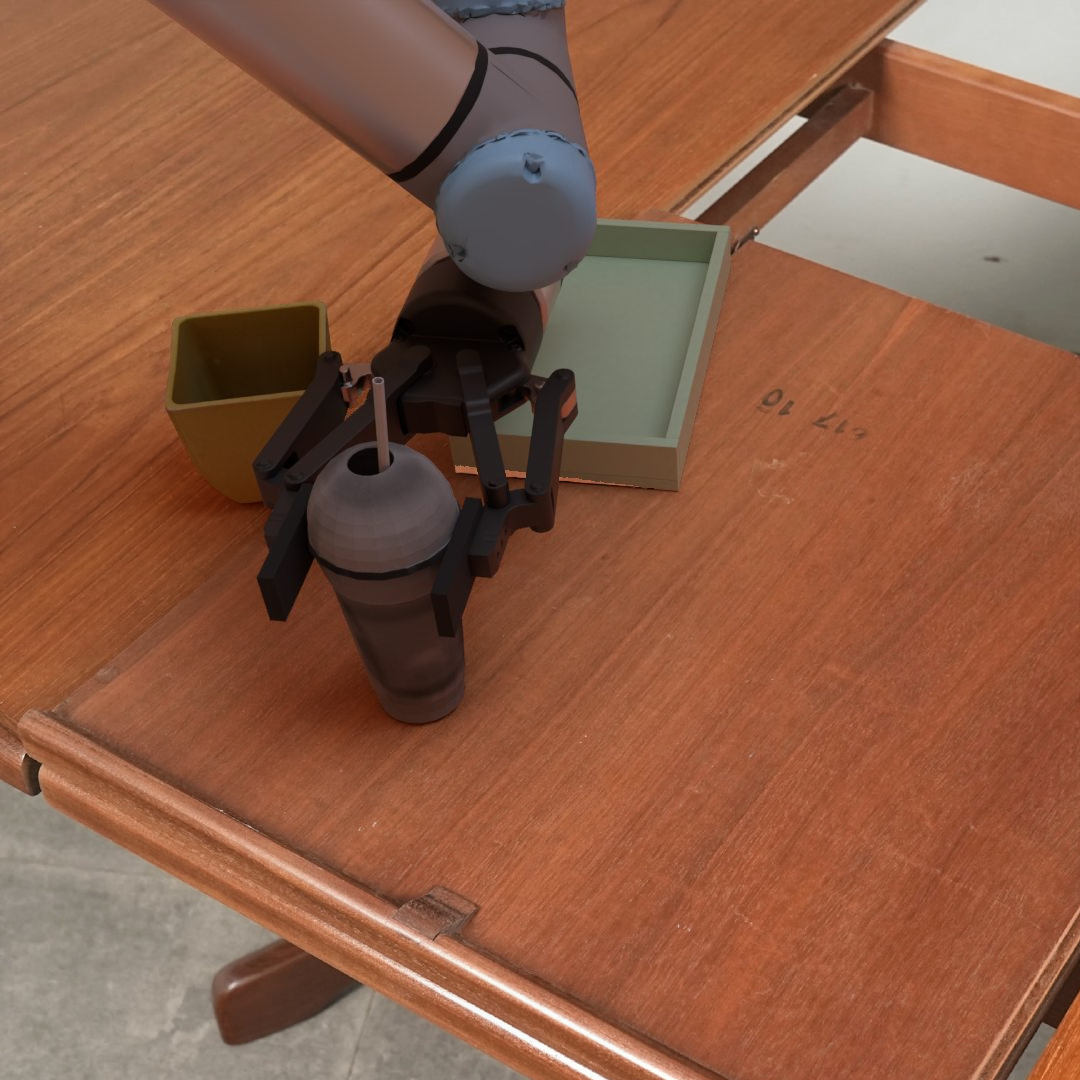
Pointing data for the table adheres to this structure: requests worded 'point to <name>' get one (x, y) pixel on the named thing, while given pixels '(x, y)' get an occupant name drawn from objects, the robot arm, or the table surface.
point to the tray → (628, 353)
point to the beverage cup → (390, 567)
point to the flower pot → (240, 384)
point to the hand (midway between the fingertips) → (356, 607)
